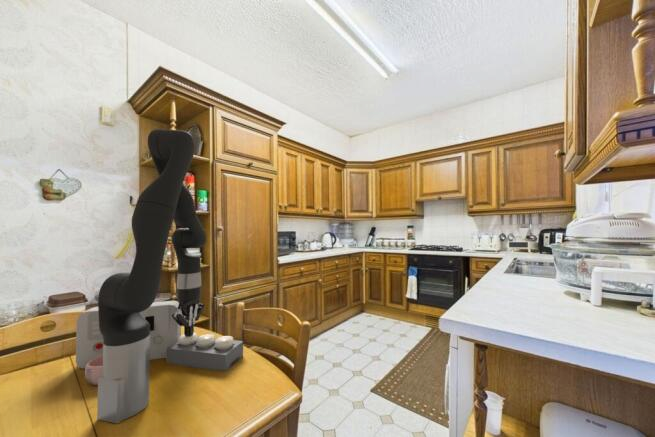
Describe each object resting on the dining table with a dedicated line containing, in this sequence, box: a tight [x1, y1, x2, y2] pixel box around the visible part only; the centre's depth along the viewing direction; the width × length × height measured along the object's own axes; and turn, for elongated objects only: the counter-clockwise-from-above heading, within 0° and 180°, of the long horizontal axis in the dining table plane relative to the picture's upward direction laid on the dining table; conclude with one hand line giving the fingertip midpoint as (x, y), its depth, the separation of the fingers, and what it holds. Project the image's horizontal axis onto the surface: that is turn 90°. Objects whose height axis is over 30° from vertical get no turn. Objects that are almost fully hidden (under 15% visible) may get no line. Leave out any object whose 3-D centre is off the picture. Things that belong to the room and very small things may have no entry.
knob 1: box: [179, 332, 198, 346], centre depth 90 cm, size 6×6×6 cm
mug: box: [84, 355, 103, 386], centre depth 78 cm, size 12×10×6 cm
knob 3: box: [215, 335, 234, 351], centre depth 87 cm, size 6×6×6 cm
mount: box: [165, 335, 244, 372], centre depth 88 cm, size 10×22×5 cm, turn 77°
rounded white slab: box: [75, 300, 182, 369], centre depth 88 cm, size 29×8×18 cm, turn 107°
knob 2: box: [197, 333, 216, 348], centre depth 88 cm, size 6×6×6 cm
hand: (189, 335), depth 90 cm, fingers closed
